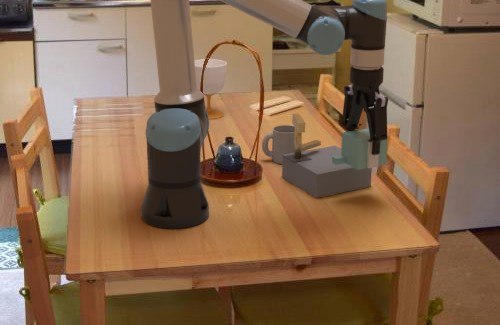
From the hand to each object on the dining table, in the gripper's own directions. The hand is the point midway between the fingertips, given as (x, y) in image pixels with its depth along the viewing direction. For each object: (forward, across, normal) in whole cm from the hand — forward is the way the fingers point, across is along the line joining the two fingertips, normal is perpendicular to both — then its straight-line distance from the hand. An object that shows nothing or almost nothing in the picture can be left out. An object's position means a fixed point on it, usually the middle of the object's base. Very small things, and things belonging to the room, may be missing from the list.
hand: (362, 161), depth 190 cm
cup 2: (+9, +32, +3) cm, 34 cm away
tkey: (+3, +17, +4) cm, 18 cm away
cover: (0, 0, +1) cm, 1 cm away
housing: (+9, +13, +1) cm, 16 cm away
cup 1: (+9, +80, +1) cm, 81 cm away
